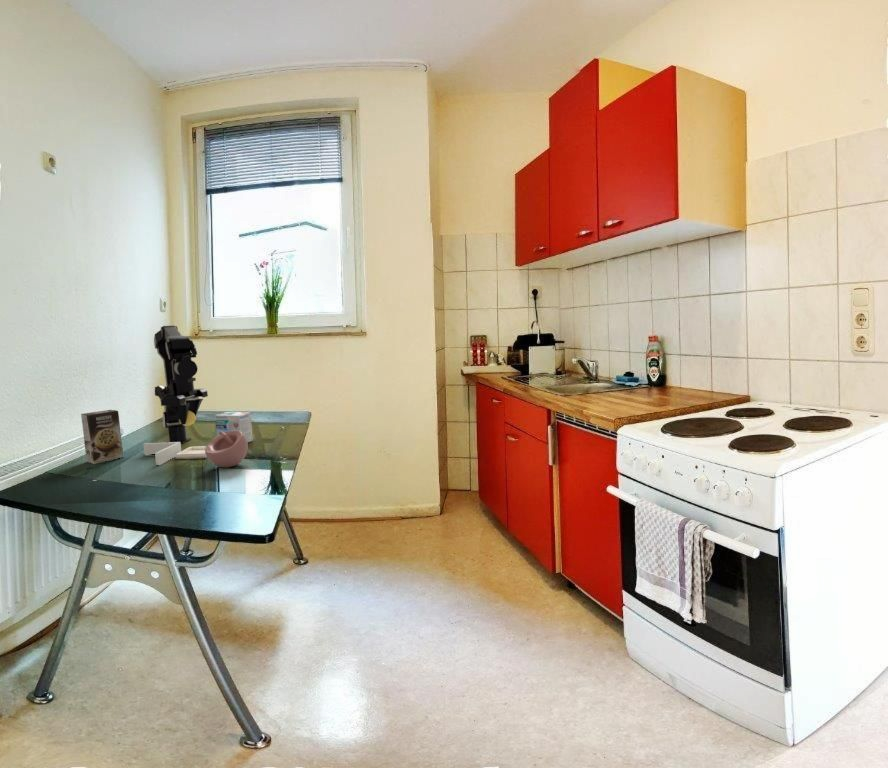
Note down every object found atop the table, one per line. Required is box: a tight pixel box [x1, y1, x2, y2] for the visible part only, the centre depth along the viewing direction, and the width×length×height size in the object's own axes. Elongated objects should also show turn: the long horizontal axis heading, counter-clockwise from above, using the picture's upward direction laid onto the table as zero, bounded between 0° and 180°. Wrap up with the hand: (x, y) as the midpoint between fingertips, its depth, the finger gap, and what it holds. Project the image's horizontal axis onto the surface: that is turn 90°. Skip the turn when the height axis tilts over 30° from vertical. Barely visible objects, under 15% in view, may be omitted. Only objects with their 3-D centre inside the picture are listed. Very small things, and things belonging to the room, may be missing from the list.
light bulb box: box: [214, 411, 254, 444], centre depth 189 cm, size 11×7×11 cm, turn 73°
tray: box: [174, 445, 208, 460], centre depth 174 cm, size 10×10×2 cm
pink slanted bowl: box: [205, 430, 249, 468], centre depth 157 cm, size 12×12×12 cm
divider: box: [142, 441, 182, 466], centre depth 169 cm, size 14×12×4 cm
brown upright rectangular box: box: [80, 409, 124, 465], centre depth 172 cm, size 9×6×16 cm
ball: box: [179, 411, 197, 427], centre depth 172 cm, size 5×5×5 cm
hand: (188, 422), depth 172 cm, fingers closed on ball, 5 cm apart
